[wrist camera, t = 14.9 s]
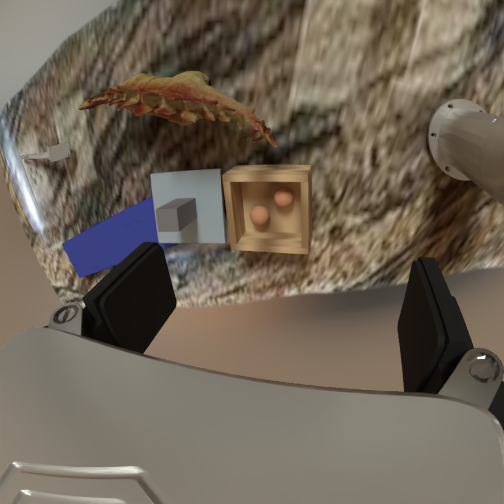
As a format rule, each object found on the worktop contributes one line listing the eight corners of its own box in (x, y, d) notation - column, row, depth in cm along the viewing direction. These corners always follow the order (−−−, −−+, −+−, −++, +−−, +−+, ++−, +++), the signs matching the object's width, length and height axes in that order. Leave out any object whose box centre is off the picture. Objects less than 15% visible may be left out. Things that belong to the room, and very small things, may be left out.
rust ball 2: (294, 185, 45) (292, 191, 42) (295, 203, 46) (292, 210, 44) (275, 185, 45) (271, 191, 43) (276, 203, 47) (272, 210, 44)
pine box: (311, 165, 43) (307, 174, 38) (311, 236, 49) (308, 254, 44) (235, 165, 47) (222, 175, 42) (242, 233, 52) (231, 249, 47)
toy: (278, 143, 46) (270, 165, 33) (106, 107, 46) (52, 119, 33) (293, 93, 41) (292, 93, 29) (114, 62, 41) (59, 62, 28)
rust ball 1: (270, 203, 47) (266, 210, 45) (271, 220, 49) (267, 228, 46) (251, 202, 48) (246, 209, 45) (253, 220, 49) (248, 227, 47)
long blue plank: (70, 239, 67) (86, 273, 70) (61, 243, 65) (78, 278, 67) (161, 192, 53) (182, 241, 55) (151, 196, 50) (173, 247, 53)
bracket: (71, 155, 52) (28, 170, 45) (53, 152, 64) (20, 163, 58) (69, 141, 50) (26, 155, 44) (51, 141, 62) (18, 152, 56)
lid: (221, 168, 47) (204, 174, 39) (226, 241, 51) (211, 261, 43) (153, 173, 49) (126, 181, 41) (161, 241, 53) (137, 259, 45)
